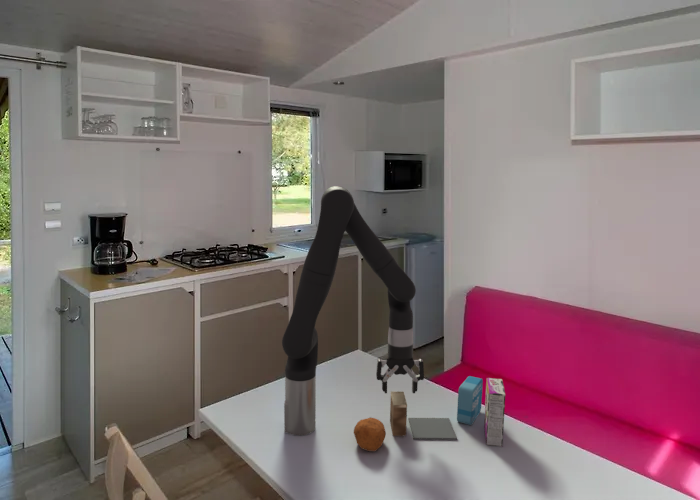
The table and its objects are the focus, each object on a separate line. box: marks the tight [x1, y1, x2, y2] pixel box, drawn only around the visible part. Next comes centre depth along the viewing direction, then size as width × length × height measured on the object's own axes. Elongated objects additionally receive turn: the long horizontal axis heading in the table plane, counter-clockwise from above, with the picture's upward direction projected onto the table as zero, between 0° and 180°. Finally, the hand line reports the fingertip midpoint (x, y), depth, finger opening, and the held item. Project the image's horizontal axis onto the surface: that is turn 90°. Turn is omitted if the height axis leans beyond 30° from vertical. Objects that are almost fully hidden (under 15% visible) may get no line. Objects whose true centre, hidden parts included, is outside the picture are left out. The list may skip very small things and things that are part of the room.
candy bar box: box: [483, 377, 506, 448], centre depth 152 cm, size 11×5×16 cm, turn 168°
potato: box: [353, 417, 387, 452], centre depth 147 cm, size 9×11×8 cm
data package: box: [456, 375, 484, 426], centre depth 164 cm, size 12×4×12 cm, turn 150°
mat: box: [407, 417, 458, 441], centre depth 157 cm, size 13×12×1 cm
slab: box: [389, 390, 408, 437], centre depth 156 cm, size 4×9×10 cm, turn 1°
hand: (399, 392), depth 155 cm, fingers open, 8 cm apart
